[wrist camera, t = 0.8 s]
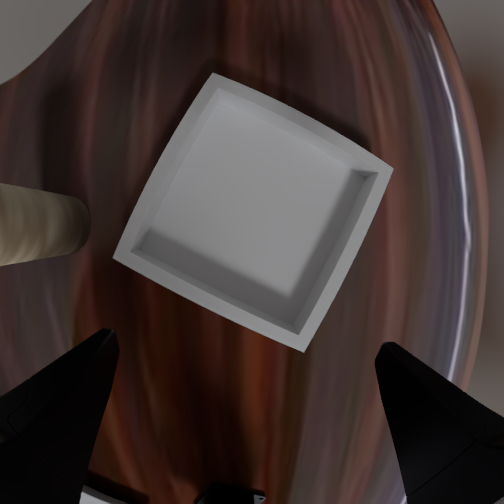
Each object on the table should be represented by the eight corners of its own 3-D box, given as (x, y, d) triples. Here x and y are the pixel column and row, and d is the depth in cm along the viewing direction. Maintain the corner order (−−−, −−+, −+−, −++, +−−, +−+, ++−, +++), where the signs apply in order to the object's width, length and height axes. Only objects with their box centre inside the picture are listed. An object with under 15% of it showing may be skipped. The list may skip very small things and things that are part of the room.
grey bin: (295, 337, 23) (303, 352, 20) (128, 254, 22) (112, 258, 19) (375, 175, 23) (393, 168, 19) (215, 91, 21) (212, 72, 18)
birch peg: (78, 264, 22) (-22, 289, 10) (40, 238, 21) (-59, 246, 9) (99, 210, 22) (-1, 198, 10) (59, 187, 21) (-39, 166, 9)
